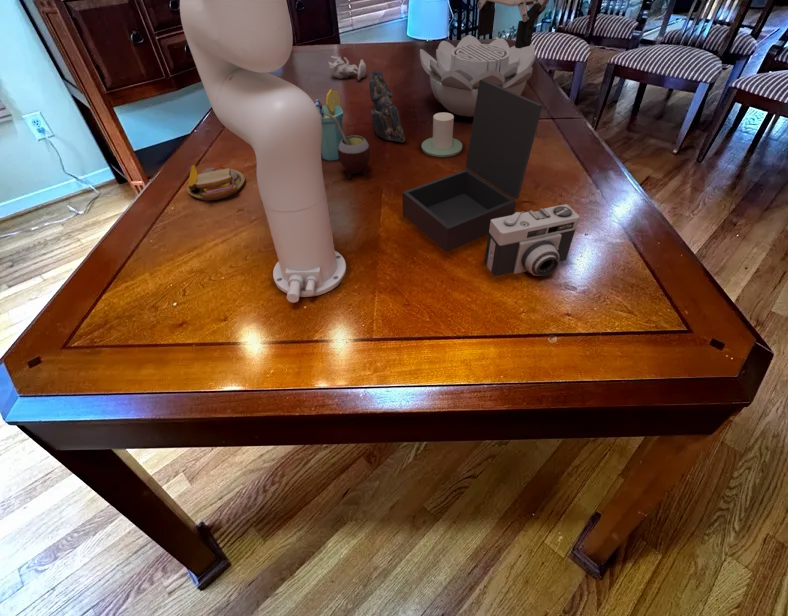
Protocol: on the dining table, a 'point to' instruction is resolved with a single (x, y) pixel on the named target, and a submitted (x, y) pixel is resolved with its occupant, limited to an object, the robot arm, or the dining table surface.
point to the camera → (530, 241)
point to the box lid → (502, 136)
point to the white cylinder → (442, 130)
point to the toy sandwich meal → (214, 183)
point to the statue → (384, 110)
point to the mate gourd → (352, 152)
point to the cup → (330, 125)
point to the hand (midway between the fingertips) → (503, 40)
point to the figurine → (346, 68)
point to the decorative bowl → (475, 70)
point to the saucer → (432, 151)
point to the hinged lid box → (456, 208)
